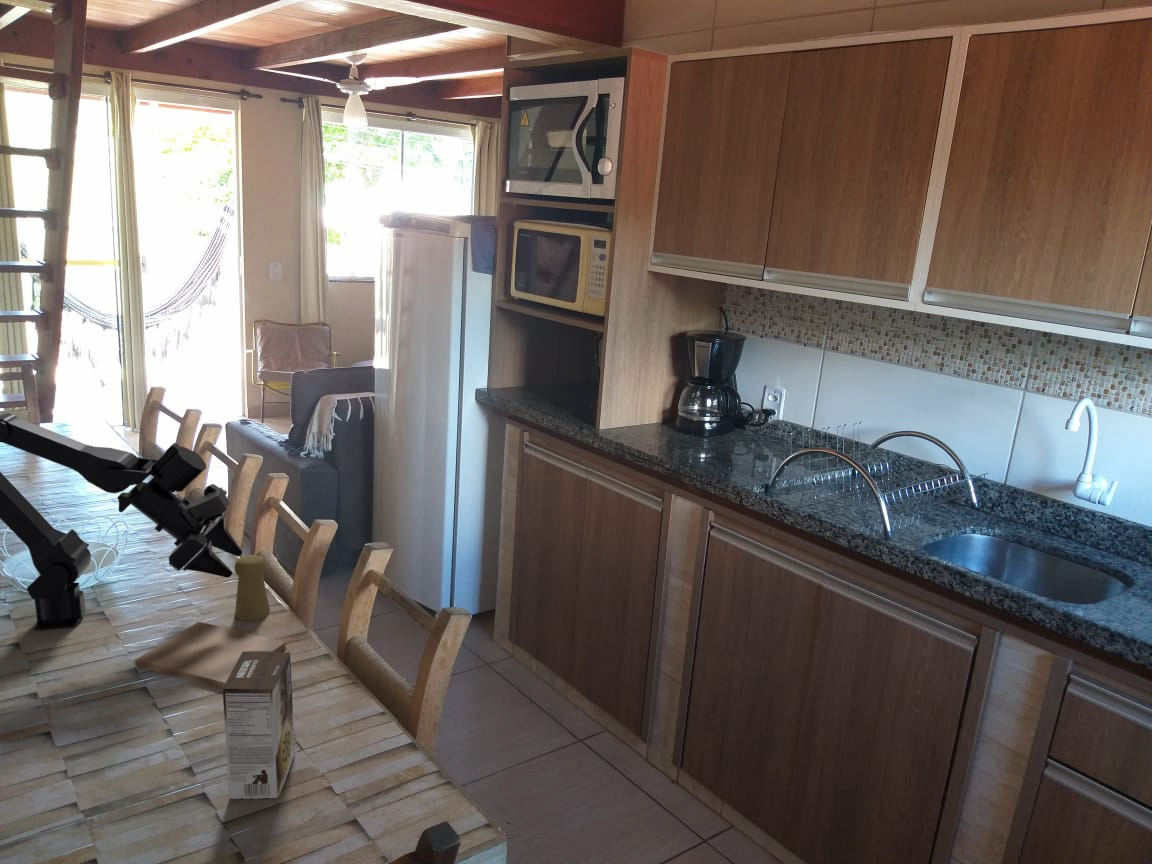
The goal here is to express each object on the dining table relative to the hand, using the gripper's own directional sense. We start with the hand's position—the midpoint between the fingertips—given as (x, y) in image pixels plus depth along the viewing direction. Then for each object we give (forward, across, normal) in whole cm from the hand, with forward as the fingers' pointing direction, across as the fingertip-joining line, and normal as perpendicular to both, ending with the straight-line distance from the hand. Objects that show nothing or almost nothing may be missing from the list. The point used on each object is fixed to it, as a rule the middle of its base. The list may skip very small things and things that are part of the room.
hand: (235, 564), depth 151 cm
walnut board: (+6, -15, +8) cm, 18 cm away
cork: (+9, 0, +5) cm, 10 cm away
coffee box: (+15, -47, -1) cm, 50 cm away
